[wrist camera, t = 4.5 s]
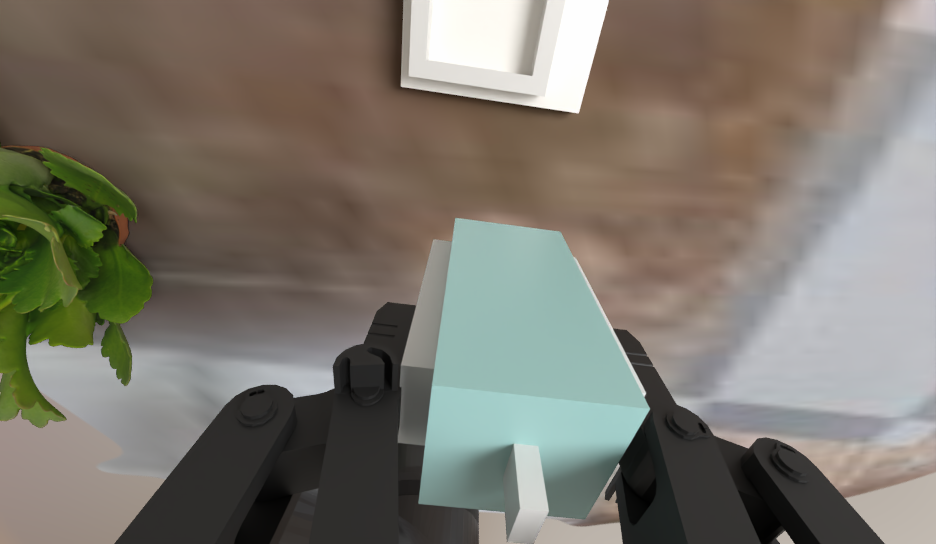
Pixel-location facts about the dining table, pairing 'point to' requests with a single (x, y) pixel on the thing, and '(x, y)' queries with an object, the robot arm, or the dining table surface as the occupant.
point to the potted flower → (61, 269)
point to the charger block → (524, 383)
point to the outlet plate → (502, 49)
